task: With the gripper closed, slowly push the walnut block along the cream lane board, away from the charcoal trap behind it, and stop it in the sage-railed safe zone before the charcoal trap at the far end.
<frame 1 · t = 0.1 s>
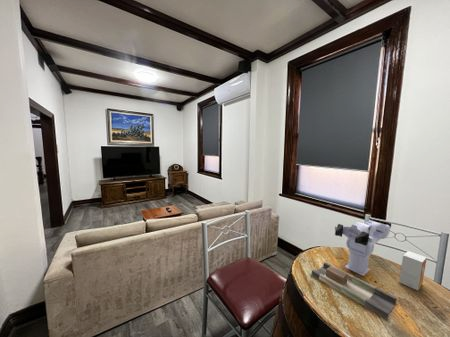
hand: (345, 236, 79), 22 cm above the table, tool horizontal, fingers open, 7 cm apart
walnut block: (336, 279, 82), resting on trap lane
small box: (410, 283, 83), on the table
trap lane: (349, 288, 78), on the table
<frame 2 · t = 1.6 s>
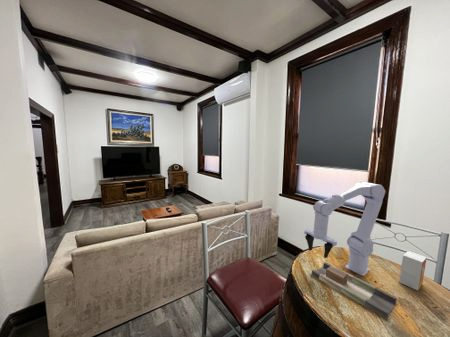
hand: (317, 253, 89), 8 cm above the table, tool pointing down, fingers open, 7 cm apart
nothing on the table moved.
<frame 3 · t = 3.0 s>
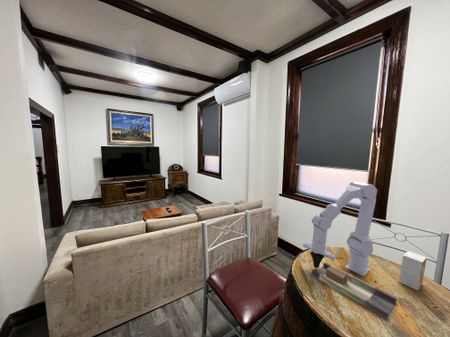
hand: (316, 266, 89), 2 cm above the table, tool pointing down, fingers closed
nothing on the table moved.
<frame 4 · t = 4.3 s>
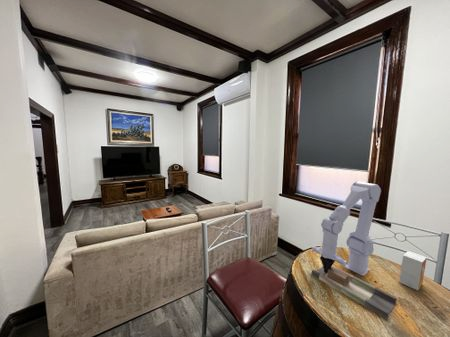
hand: (326, 272, 86), 1 cm above the table, tool pointing down, fingers closed
walnut block: (337, 280, 82), point 1 cm above the table, touching gripper, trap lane
everything else where it was.
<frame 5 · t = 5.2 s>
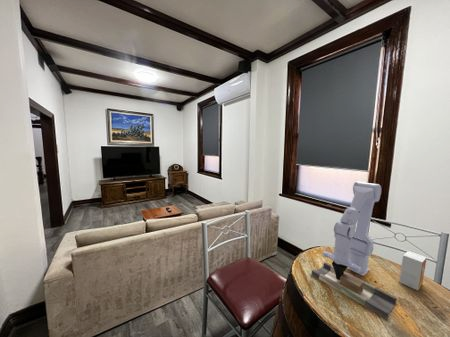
hand: (338, 278, 81), 2 cm above the table, tool pointing down, fingers closed
walnut block: (351, 287, 78), resting on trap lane, touching gripper
everything else where it was.
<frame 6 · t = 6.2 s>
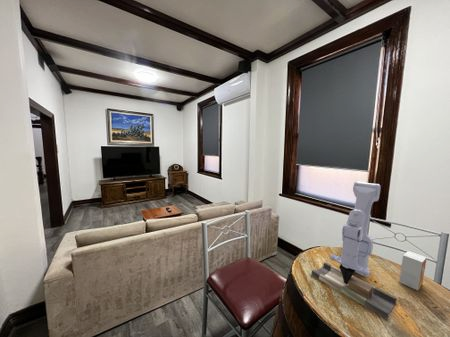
hand: (346, 282, 79), 2 cm above the table, tool pointing down, fingers closed
walnut block: (359, 292, 75), resting on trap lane, touching gripper
everything else where it was.
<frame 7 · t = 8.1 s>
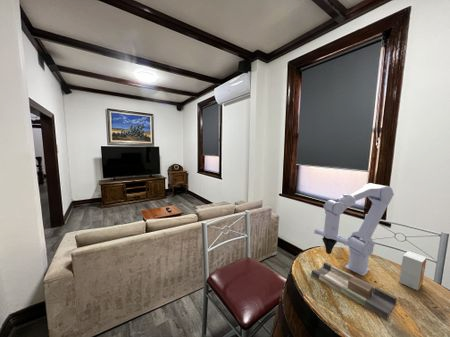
hand: (328, 253, 88), 9 cm above the table, tool pointing down, fingers closed
walnut block: (359, 292, 75), resting on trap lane
everything else where it was.
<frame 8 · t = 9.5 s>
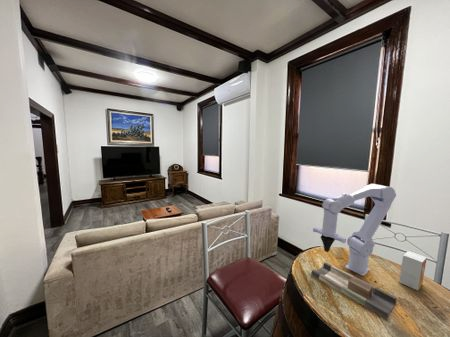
hand: (326, 250, 90), 9 cm above the table, tool pointing down, fingers closed
nothing on the table moved.
at the end: walnut block inside the target area (0.3 cm from its centre), point 0.5 cm above the table; walnut block tilted 0° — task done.
